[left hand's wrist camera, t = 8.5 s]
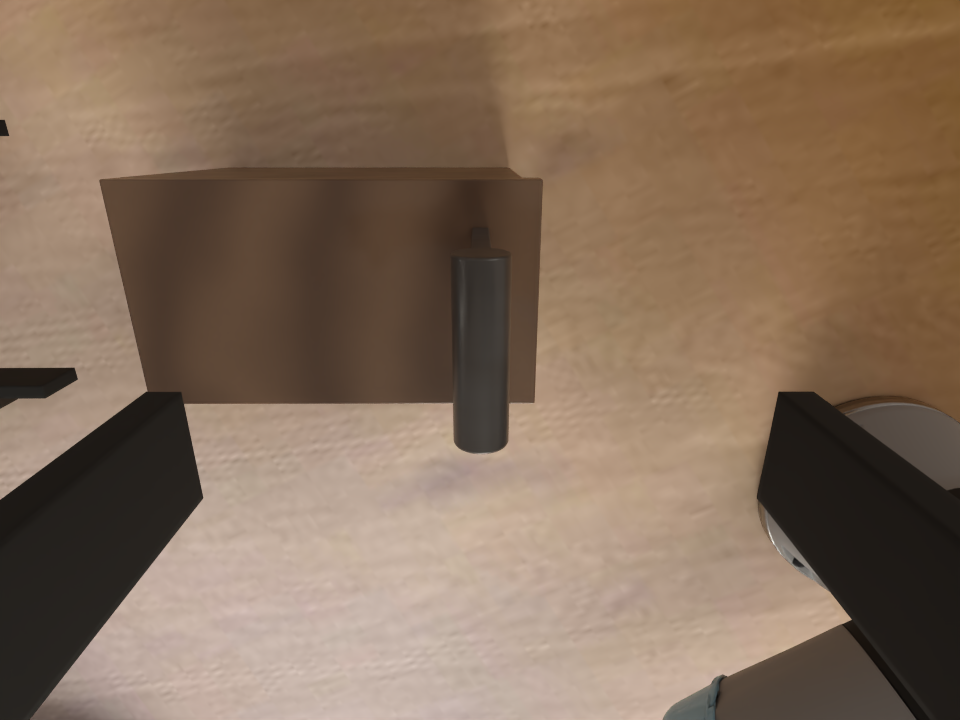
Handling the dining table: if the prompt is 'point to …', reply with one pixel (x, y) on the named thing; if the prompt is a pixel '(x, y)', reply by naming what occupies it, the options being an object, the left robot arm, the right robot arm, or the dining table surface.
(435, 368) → the lid
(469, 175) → the chest
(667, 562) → the dining table surface
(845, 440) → the left robot arm
